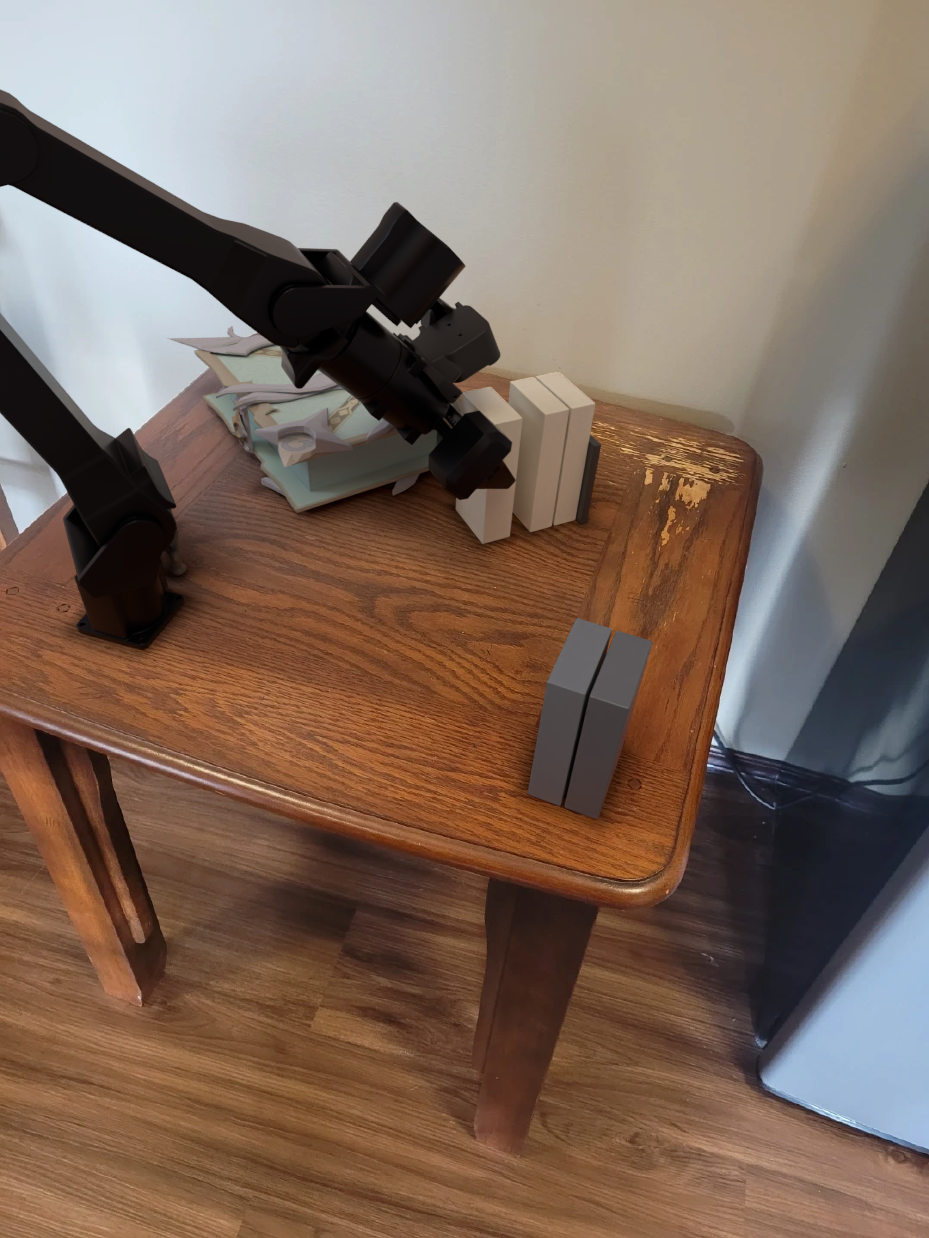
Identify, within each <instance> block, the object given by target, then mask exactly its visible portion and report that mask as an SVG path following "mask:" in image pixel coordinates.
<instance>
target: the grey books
mask: <svg viewBox="0 0 929 1238" xmlns="http://www.w3.org/2000/svg"><path fill="white" fill-rule="evenodd" d="M612 632H613V628H612V627H607V626H605V625H601V624H598V623H595V622H593V621H589V620H586V619H582V618H579V617H576V618H575V620H574V621H573V624H572V626H571V629H570V631H569V632H568V635H567V638H566V639H565V641H564V644H563V646H562V648H561V650H560V653H559V654H558V657H557V659H556V661H555V663H554V666H553V667H552V670H551V672H550V674H549V675H548V678H547V680H546V685H545V690H544V696H543V702H542V707H541V713H540V718H539V724H538V730H537V736H536V742H535V747H534V753H533V760H532V765H531V771H530V777H529V781H528V782H529V784H528V788H527V795H529V796H531V797H534V798H536V799H539V800H541V801H545V802H548V803H550V804H553V805H555V806H558V807H561V806H562V803H563V801H565V802H564V807H563V808H565V809H567V810H570V811H572V812H576V813H578V814H580V815H583V816H586V817H589V818H591V819H594V820H598V819H599V818H600V815H601V813H602V810H603V807H604V803H605V801H606V798H607V795H608V791H609V789H610V786H611V783H612V780H613V777H614V774H615V773H616V769H617V767H618V766H617V765H618V762H619V760H620V757H621V754H622V752H623V747H624V743H625V740H626V737H627V733H628V730H629V727H630V722H631V719H632V716H633V712H634V710H635V706H636V702H637V699H638V696H639V692H640V688H641V684H642V681H643V678H644V674H645V671H646V667H647V663H648V661H649V657H650V654H651V650H652V646H653V643H654V642H653V640H650V639H646V638H643V637H640V636H637V635H634V634H630V633H627V632H623V631H620V630H616V631H615V632H614V634H613V637H612V640H611V636H612ZM610 641H611V642H610ZM565 796H566V797H565ZM564 798H565V800H564Z"/></svg>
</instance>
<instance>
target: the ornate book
mask: <svg viewBox="0 0 929 1238" xmlns="http://www.w3.org/2000/svg"><path fill="white" fill-rule="evenodd" d="M226 333H227V335H228V336H218V337H171V338H169V337H168V338H167V340H170V341H172V342H175V343H179V344H181V345H185V346H188V347H191V348H194V349H195V350H194V355H195V356H196V357H197V358H198V359H199V360H200V361H201V362H203V363H204V365H206V366H207V367H208V368H209V369H210V370H211V371H212V372H213V373H214V375H215V377H216V378H218V380H219V382H220V383H221V385H222V387H220V388H219V390H218V391H216V392H212V393H208V394H204V395H202V400H203V401H204V402H205V403H206V404H207V405H208V406H209V407H210V408H211V409H212V410H213V411H214V412H215V413H217V414H218V416H219V417H220V418H221V419H222V421H223V422H224V424H225V425H226V427H227V428H228V430H229V432H230V433H231V435H232V436H236V437H237V438H238V441H239V444H240V445H241V447H242V448H243V449H245V451H246V453H249V454H252V455H253V454H254V455H255V457H256V458H257V459H258V460H259V461H260V467H259V468H260V470H261V471H262V472H263V473H264V474H265V475H266V477H265V476H264V477H262V478H260V482H261V485H262V486H264V487H266V488H269V489H271V490H273V491H275V492H276V493H278V494H280V495H282V496H283V497H285V498H286V500H287V501H288V503H289V504H290V506H291V508H292V509H293V510H294V512H296V514H298V513H301V512H304V511H308V510H310V509H314V508H316V507H320V506H323V505H326V504H329V503H333V502H335V501H339V500H341V499H345V498H348V497H351V496H354V495H356V494H357V495H358V494H360V493H364V492H367V491H370V490H373V489H376V488H379V487H381V486H385V485H388V484H391V483H394V482H395V485H394V487H393V489H392V496H395V495H398V494H400V493H402V492H405V491H406V490H407V489H409V488H410V487H412V486H414V485H415V483H416V481H417V480H418V479H419V476H420V474H423V473H425V472H429V471H430V470H429V469H428V459H429V454H430V453H431V452H432V450H433V449H434V448H435V447H436V446H437V445H438V444H439V442H440V441H441V440H442V439H443V437H442V436H441V435H440V434H439V433H438V432H437V431H436V430H432V431H431V432H429V433H428V434H426V435H423V434H422V435H421V436H420V437H419V438H418V439H417V440H416V441H415V443H414V444H413V445H411V444H410V443H408V442H407V441H405V440H404V439H403V437H402V436H401V435H400V434H399V432H398V431H397V430H396V429H395V428H394V426H392V425H391V424H390V423H388V422H387V421H386V420H384V419H383V418H381V420H380V421H378V420H377V419H376V418H374V417H373V416H372V415H370V413H369V412H368V411H367V410H366V408H365V407H364V406H363V404H362V403H361V402H360V401H359V400H357V399H356V398H355V397H353V396H352V395H351V394H349V393H348V392H347V391H345V390H344V389H343V388H341V387H340V386H339V385H337V384H336V383H335V382H333V381H332V380H331V379H329V378H328V377H327V376H325V375H324V374H323V373H321V372H320V371H318V370H317V371H316V373H315V374H314V375H313V376H312V377H311V379H310V380H309V381H308V382H307V384H306V385H305V386H304V387H303V388H301V389H297V388H296V387H295V386H294V384H293V383H292V381H291V380H290V379H289V377H288V376H287V374H286V373H285V371H284V370H283V368H282V366H281V363H282V351H281V348H280V346H277V345H275V344H273V343H271V342H270V341H268V340H267V339H265V338H264V337H263V336H261V335H260V334H257V335H252V336H251V335H250V336H240V335H238V334H235V331H234V327H233V325H231V326H229V327H228V328H227V332H226ZM452 405H453V406H454V407H455V408H456V409H457V410H458V412H459V413H460V414H461V396H460V397H459V398H458V399H457V400H456V401H455V402H454V403H453V404H452Z"/></svg>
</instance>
